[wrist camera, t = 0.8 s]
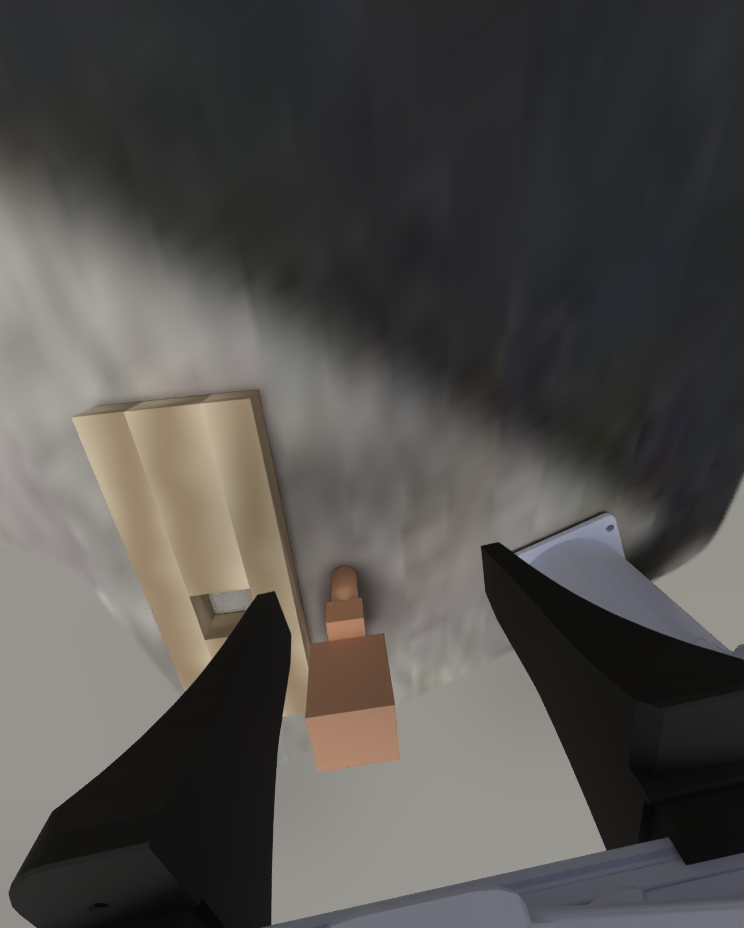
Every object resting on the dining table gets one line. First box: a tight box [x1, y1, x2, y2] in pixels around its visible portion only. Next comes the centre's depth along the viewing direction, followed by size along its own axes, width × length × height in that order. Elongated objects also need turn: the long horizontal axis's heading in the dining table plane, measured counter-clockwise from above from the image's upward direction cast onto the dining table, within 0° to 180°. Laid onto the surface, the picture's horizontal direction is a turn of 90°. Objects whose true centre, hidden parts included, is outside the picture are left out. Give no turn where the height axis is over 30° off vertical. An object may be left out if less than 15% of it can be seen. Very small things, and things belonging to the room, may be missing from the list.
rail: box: [71, 390, 310, 716], centre depth 23 cm, size 8×22×2 cm, turn 5°
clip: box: [305, 566, 400, 772], centre depth 21 cm, size 4×7×8 cm, turn 5°
